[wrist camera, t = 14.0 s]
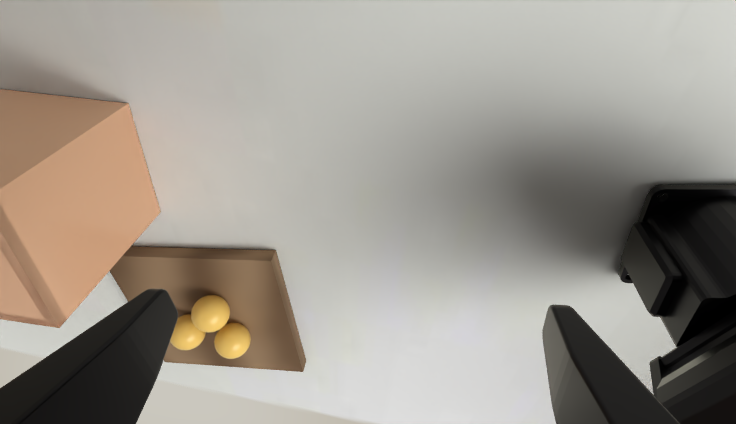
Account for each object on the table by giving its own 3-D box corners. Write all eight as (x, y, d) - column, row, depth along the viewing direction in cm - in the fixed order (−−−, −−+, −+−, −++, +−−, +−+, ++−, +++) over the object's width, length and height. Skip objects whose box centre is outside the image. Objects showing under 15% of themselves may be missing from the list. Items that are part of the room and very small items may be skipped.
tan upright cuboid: (128, 103, 22) (-19, 201, 15) (160, 212, 26) (59, 327, 19) (0, 89, 23) (-201, 177, 15) (53, 198, 27) (-85, 306, 20)
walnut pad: (275, 250, 27) (271, 260, 26) (306, 360, 34) (303, 371, 33) (109, 245, 29) (100, 255, 28) (170, 351, 36) (164, 361, 35)
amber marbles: (223, 284, 29) (208, 313, 27) (261, 335, 32) (249, 364, 30) (160, 296, 30) (141, 323, 28) (201, 342, 33) (186, 370, 31)
